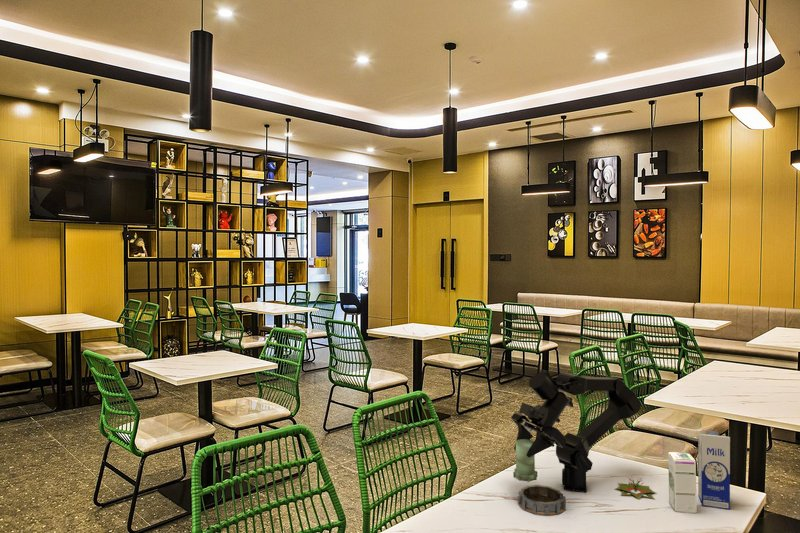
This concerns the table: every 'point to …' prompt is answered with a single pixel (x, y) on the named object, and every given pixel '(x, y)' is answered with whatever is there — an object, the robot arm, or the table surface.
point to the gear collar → (542, 500)
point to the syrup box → (682, 482)
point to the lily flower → (635, 489)
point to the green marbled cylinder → (524, 462)
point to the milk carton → (714, 470)
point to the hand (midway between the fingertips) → (521, 453)
